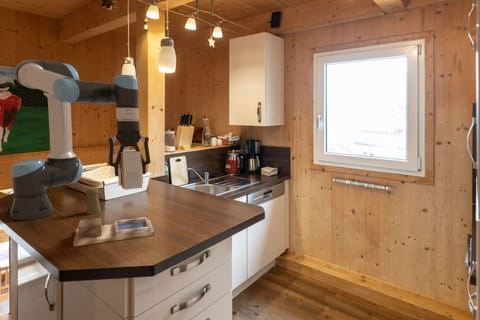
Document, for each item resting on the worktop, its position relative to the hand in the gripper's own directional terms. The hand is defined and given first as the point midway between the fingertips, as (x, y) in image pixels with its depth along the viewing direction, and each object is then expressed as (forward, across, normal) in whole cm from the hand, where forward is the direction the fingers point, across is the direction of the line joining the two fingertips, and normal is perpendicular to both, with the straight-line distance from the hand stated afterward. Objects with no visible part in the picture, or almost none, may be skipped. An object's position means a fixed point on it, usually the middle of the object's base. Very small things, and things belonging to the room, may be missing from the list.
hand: (130, 183), depth 113 cm
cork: (+18, -14, +30) cm, 38 cm away
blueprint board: (+18, -6, 0) cm, 19 cm away
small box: (+1, 0, 0) cm, 1 cm away
